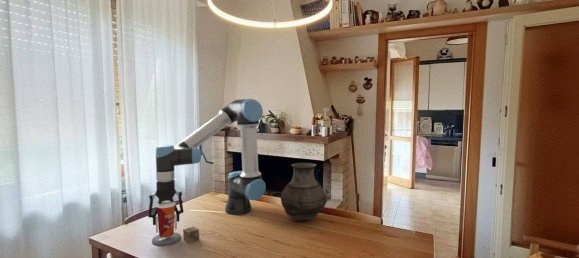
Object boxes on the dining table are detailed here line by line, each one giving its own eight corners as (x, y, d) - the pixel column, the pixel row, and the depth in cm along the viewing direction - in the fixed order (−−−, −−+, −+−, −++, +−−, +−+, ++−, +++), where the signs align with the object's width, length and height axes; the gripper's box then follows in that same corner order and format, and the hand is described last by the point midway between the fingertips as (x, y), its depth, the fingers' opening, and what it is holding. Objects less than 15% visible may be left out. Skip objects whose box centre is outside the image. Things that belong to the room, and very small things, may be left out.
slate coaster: (179, 232, 139) (179, 230, 139) (182, 242, 128) (182, 240, 128) (151, 236, 134) (151, 235, 134) (152, 247, 123) (152, 246, 123)
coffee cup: (169, 239, 126) (168, 205, 125) (152, 237, 128) (151, 204, 127) (180, 231, 134) (179, 199, 133) (164, 229, 136) (163, 198, 135)
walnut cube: (193, 236, 135) (193, 226, 134) (199, 240, 131) (198, 229, 131) (183, 240, 131) (183, 229, 131) (188, 243, 128) (188, 232, 127)
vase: (320, 231, 141) (321, 170, 140) (273, 224, 149) (273, 167, 147) (329, 214, 165) (330, 162, 163) (288, 209, 173) (289, 159, 171)
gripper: (188, 176, 137) (188, 223, 139) (140, 180, 129) (141, 230, 130) (190, 179, 130) (190, 229, 132) (140, 184, 122) (141, 237, 123)
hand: (166, 229), depth 131 cm, fingers closed on coffee cup, 7 cm apart
